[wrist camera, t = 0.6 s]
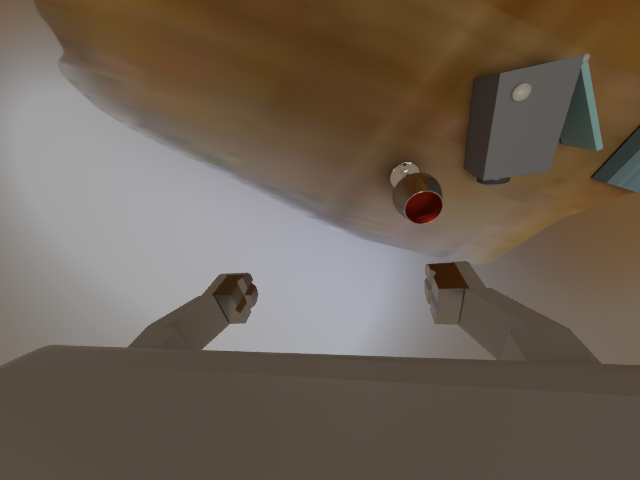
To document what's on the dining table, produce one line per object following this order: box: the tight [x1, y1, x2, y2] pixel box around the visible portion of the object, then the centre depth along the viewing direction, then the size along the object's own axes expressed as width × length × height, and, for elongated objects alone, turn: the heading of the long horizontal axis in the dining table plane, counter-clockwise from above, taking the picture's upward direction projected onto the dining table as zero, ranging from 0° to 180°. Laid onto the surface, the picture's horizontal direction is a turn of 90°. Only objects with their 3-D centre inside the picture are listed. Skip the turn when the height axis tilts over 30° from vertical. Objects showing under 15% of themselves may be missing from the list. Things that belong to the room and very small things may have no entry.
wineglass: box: [390, 162, 443, 224], centre depth 44 cm, size 8×8×18 cm
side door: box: [552, 54, 603, 151], centre depth 37 cm, size 15×2×8 cm, turn 36°
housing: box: [464, 55, 585, 186], centre depth 40 cm, size 18×10×10 cm, turn 11°
